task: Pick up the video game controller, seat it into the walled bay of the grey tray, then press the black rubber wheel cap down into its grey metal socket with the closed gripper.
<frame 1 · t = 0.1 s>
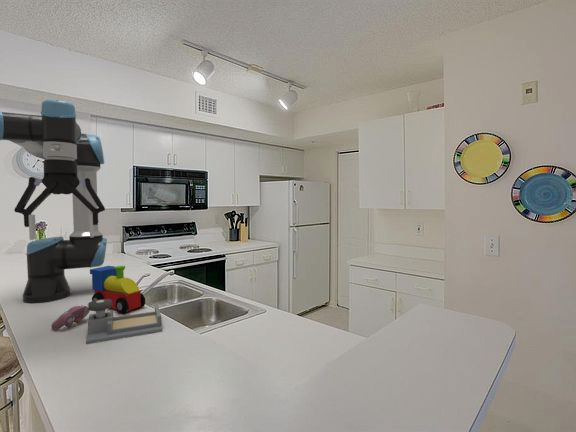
hand: (63, 238, 90), 28 cm above the counter, fingers open, 13 cm apart
wheel cap: (100, 311, 96), point 6 cm above the counter, slide at 0.0 cm
toy train: (116, 308, 117), on the counter
grey tray: (126, 327, 99), on the counter
video game controller: (72, 325, 101), on the counter
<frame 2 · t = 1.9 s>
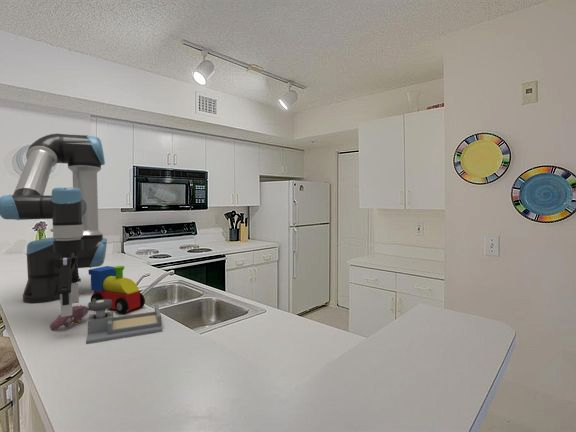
hand: (70, 309, 100), 5 cm above the counter, fingers open, 13 cm apart
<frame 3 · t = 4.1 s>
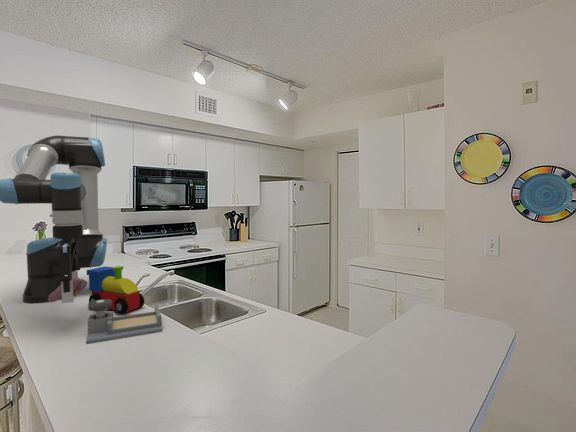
hand: (70, 296, 101), 9 cm above the counter, fingers closed on video game controller, 10 cm apart
video game controller: (69, 298, 100), point 8 cm above the counter, touching gripper
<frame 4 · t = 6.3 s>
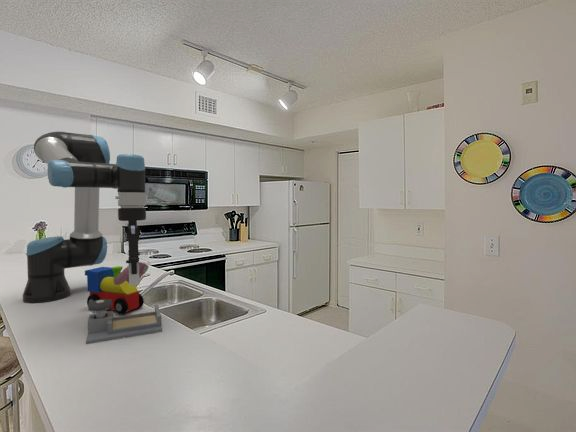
hand: (134, 280, 99), 14 cm above the counter, fingers closed on video game controller, 10 cm apart
video game controller: (132, 282, 99), point 13 cm above the counter, touching gripper
when the fingers open (2 cm above the counter, at t = 8.7 s): video game controller drops 1 cm, resting on grey tray.
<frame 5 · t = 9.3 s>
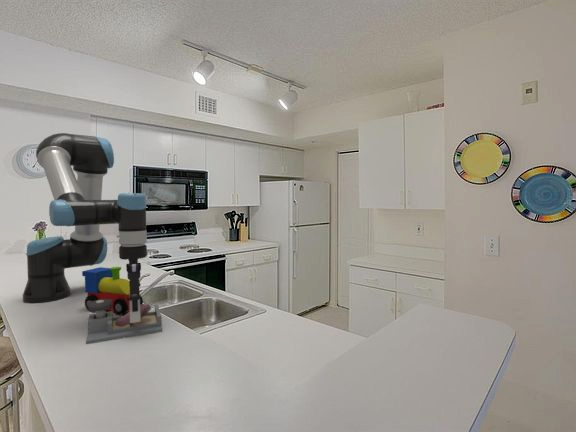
hand: (134, 314, 100), 4 cm above the counter, fingers open, 13 cm apart
video game controller: (133, 323, 100), point 1 cm above the counter, touching grey tray
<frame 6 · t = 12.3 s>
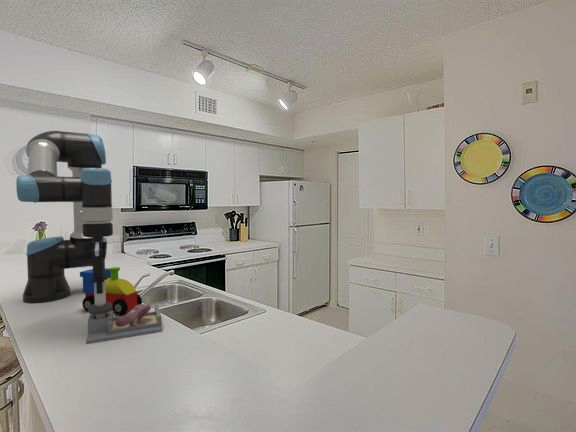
hand: (100, 303, 96), 8 cm above the counter, fingers closed
wheel cap: (100, 314, 96), point 5 cm above the counter, slide at -1.0 cm, touching gripper
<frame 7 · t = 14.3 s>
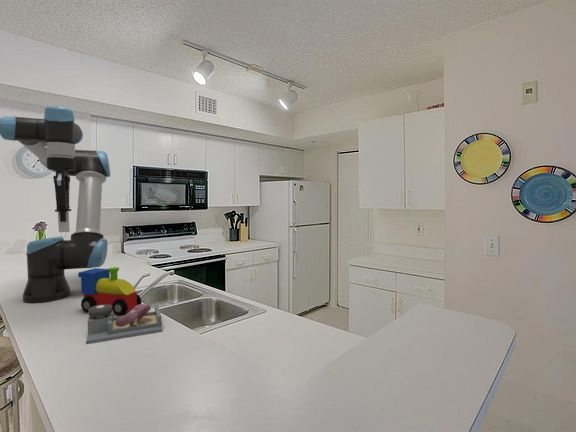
hand: (64, 231, 106), 28 cm above the counter, fingers closed
wheel cap: (100, 316, 96), point 4 cm above the counter, slide at -1.6 cm
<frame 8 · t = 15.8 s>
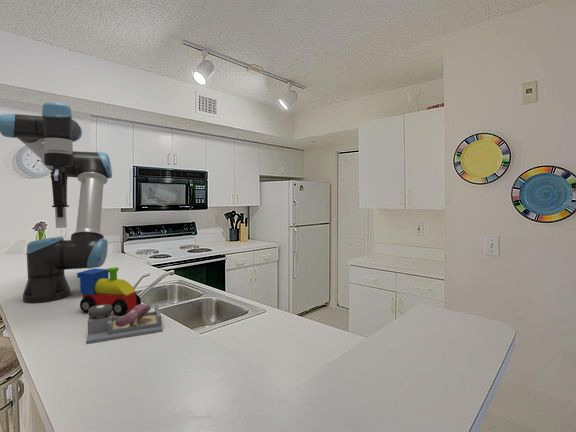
hand: (61, 227, 106), 29 cm above the counter, fingers closed
at the end: video game controller inside the target area on the grey tray (0.5 cm from its centre), point 1.0 cm above the grey tray's base; wheel cap slide at -1.6 cm; the gripper is holding nothing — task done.
